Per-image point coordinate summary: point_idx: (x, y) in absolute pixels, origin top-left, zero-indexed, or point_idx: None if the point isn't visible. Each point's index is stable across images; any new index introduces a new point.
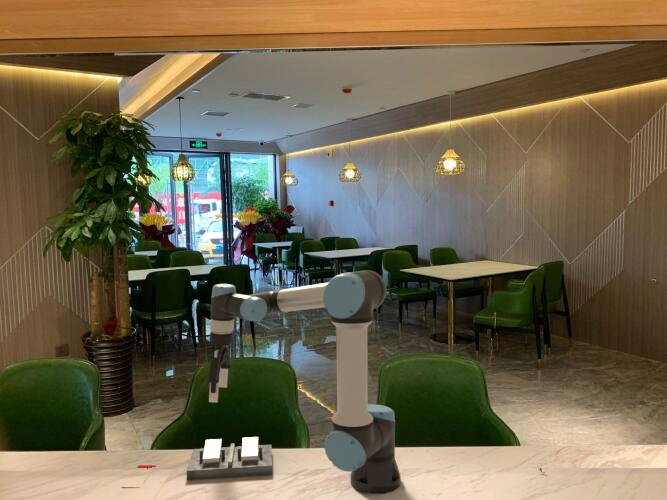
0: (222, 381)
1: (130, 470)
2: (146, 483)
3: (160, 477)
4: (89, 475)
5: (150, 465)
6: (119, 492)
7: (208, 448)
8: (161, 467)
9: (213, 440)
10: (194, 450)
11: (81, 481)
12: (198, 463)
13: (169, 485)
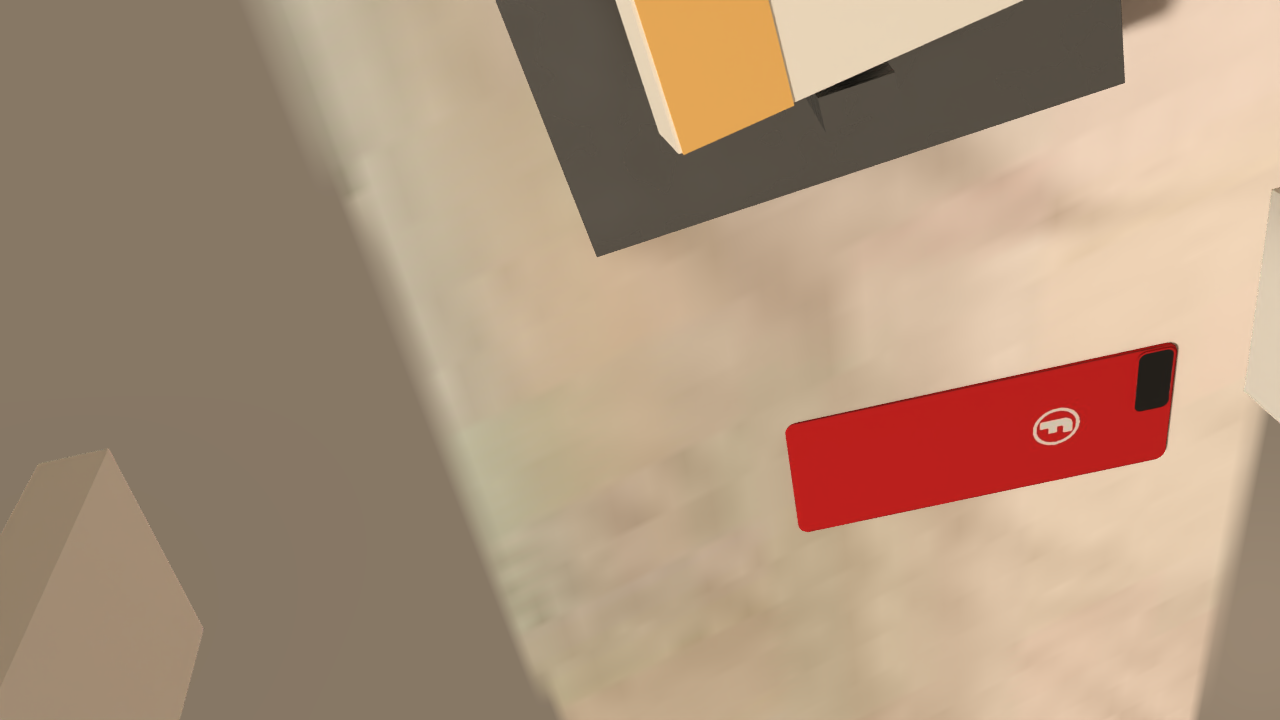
0: (117, 694)
1: (885, 539)
2: (1106, 338)
3: (1006, 293)
4: (964, 695)
5: (795, 464)
6: (1227, 431)
7: (848, 25)
8: (820, 374)
9: (675, 49)
10: (628, 232)
11: (1044, 687)
12: (949, 40)
13: (1161, 151)
